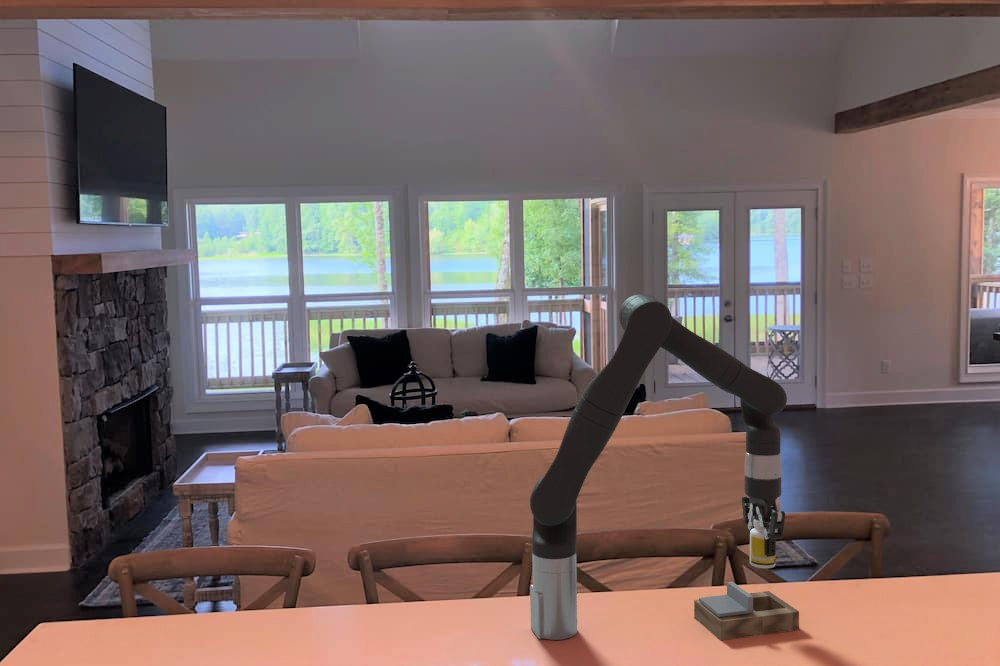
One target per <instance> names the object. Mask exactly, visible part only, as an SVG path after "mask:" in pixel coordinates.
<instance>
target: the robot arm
mask: <svg viewBox="0 0 1000 666" xmlns="http://www.w3.org/2000/svg"><path fill="white" fill-rule="evenodd" d="M618 319H619V320H618V321H619V324H620V325H621V328H622V330H623V334H622V335H621V339H620V341H619V344H618V345H617V347H616V349H615V351H614V354H613V355H612V357H611V359H609V361H608V362H607V364H606V365H605V366H603V367H602V369H601V370H600V371H598V373H597V374H596V375H595V376H594V377H593V379H591V381H590V382H589V383H588V385H587V386H586V388H585V389H584V391H583V392H582V394H581V396H580V398H579V400H578V402H577V404H576V406H575V407H574V410H573V411H572V414H571V416H570V419H569V421H568V423H567V426H566V429H565V431H564V434H563V436H562V439H561V443H560V446H559V448H558V451H557V454H556V455H555V457H554V460H553V461H552V463H551V465H550V466H549V468H548V469H547V470H546V473H545V474H544V475H543V476H542V477H541V478H539V479H538V481H536V483H535V485H534V486H533V489H532V491H531V494H530V498H529V508H530V512H531V514H532V516H533V518H532V524H533V526H532V539H531V549H532V550H531V551H532V553H531V554H532V555H531V556H532V557H531V558H532V561H531V562H532V584H531V585H530V586H529V591H530V592H529V595H530V606H529V607H530V629H531V630H532V632H533V633H534V635H535V636H536V638H537V639H539V640H543V639H546V640H553V641H555V640H557V641H558V640H559V641H560V640H561V641H562V640H566V639H570V638H573V637H574V636H576V634H577V633H578V598H577V597H578V594H577V593H578V592H577V591H578V586H577V583H578V582H577V581H578V580H577V537H578V536H577V535H578V531H577V529H578V527H577V523H578V522H577V500H578V497H579V495H580V491H581V490H582V487H583V486H584V483H585V480H586V479H587V476H588V474H589V472H590V470H591V469H592V467H593V465H594V464H595V463H596V461H597V460H598V458H599V457H600V455H601V454H602V452H603V451H604V449H605V448H606V446H607V445H608V443H609V441H610V440H611V437H612V436H613V434H614V432H615V430H616V428H617V427H618V426H619V423H620V421H621V420H622V418H623V416H624V413H625V411H626V409H627V407H628V405H629V403H630V401H631V399H632V397H633V395H634V394H635V392H636V389H637V387H638V385H639V384H640V382H641V379H642V377H643V375H644V373H645V371H646V369H647V368H648V367H649V365H650V363H651V362H652V360H653V359H654V357H655V356H656V355H657V353H658V351H659V350H660V349H661V348H662V349H663V350H665V351H666V352H668V353H670V354H671V355H673V356H674V357H675V358H677V359H678V360H680V361H681V362H682V363H683V364H685V365H686V366H687V367H689V368H690V369H691V370H693V371H694V372H696V373H697V374H698V375H699V376H701V377H702V378H704V379H705V380H707V381H708V382H710V383H711V384H713V385H714V386H716V387H717V388H719V389H721V390H722V391H724V392H725V393H728V394H731V395H734V396H735V397H737V398H739V400H740V401H739V402H740V409H741V415H742V421H743V424H744V428H745V457H744V491H743V492H744V494H745V495H746V496H742V497H741V505H742V517H743V523H744V525H745V526H746V525H747V529H748V530H749V532H750V531H751V529H753V528H755V527H754V524H753V523H754V519H758V520H759V521H760V526H761V528H763V531H764V536H765V555H766V556H767V557H770V556H775V554H776V555H777V539H782V538H783V536H784V535H783V534H784V530H785V529H784V528H785V527H784V526H785V522H786V521H785V520H786V519H785V518H786V513H785V511H783V510H782V511H779V510H778V506H777V502H776V501H777V499H778V498H780V497H781V496H782V457H781V456H782V455H781V432H780V428H779V427H778V426H777V425H776V424H775V422H774V421H773V415H777V414H779V413H781V412H782V411H783V410H784V409H785V408H786V406H787V403H788V397H787V393H786V391H785V389H784V388H783V386H781V384H779V383H778V382H776V380H773V379H772V378H770V377H768V376H766V375H764V374H762V373H760V372H758V370H757V371H756V370H754V369H752V368H750V367H749V366H748V365H746V364H745V363H743V362H742V361H741V360H740V359H738V358H736V357H735V356H733V355H732V354H730V353H729V352H727V351H726V350H725V349H723V348H721V347H719V346H717V345H716V344H714V343H712V342H710V341H709V340H707V339H706V338H704V337H702V336H700V335H699V334H697V333H695V332H693V331H692V330H690V329H688V328H687V327H686V326H684V325H683V324H681V322H679V321H678V320H676V319H675V318H674V317H673V315H672V313H671V311H670V309H669V307H668V306H667V305H666V304H664V303H663V302H661V301H660V300H659V299H657V298H656V297H653V296H651V295H648V294H634V295H631V296H630V297H628V298H626V300H625V301H623V302H622V304H621V306H620V308H619V311H618ZM765 522H771V523H770V524H766V523H765ZM769 527H770V532H769V531H768V528H769Z"/></svg>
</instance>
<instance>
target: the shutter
mask: <svg viewBox="0 0 1000 666" xmlns="http://www.w3.org/2000/svg"><path fill="white" fill-rule="evenodd" d="M698 600H699V601H700V602H701V603H702V604H703V605H704V606H706V607H707V608H708V609H709V610H711V611H712V612H713V613H714V614H716V615H717V616H718V617H724V616H732V615H740V614H747V613H754V609H753V596H752V595H750V594H749V592H748V591H746V590H744V589H743V588H742V587H740V586H739V585H738V584H736V583H735V582H733V581H727V582H726V594H723V595H722V594H720V595H713V596H705V597H699V598H698Z"/></svg>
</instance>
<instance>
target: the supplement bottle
mask: <svg viewBox="0 0 1000 666" xmlns="http://www.w3.org/2000/svg"><path fill="white" fill-rule="evenodd" d="M765 523H766V524H770V523H771V522H765ZM753 524H754V527H755V528H753V529H751V531H750V530H749V564H750V566H752V567H755V568H757V569H772V568H774V567H776V565H777V553H776V554H775V556H770V557H767V556H766V555H765V536H764V531H763V528H761V526H760V521H759V520H758V519H754V523H753ZM768 531H769V532H770V527H769V528H768Z"/></svg>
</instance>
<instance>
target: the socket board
mask: <svg viewBox="0 0 1000 666" xmlns="http://www.w3.org/2000/svg"><path fill="white" fill-rule="evenodd" d="M748 593H749V592H748ZM749 594H750V595H752V596H753V609H754V613H747V614H740V615H732V616H724V617H718V616H717V615H716V614H714V613H713V612H712V611H711V610H709V609H708V608H707V607H706V606H704V605H703V604H702V603H701V602H700V601H699V599H694V601H693V602H694V603H693V605H694V606H693V607H694V610H693V611H694V612H693V613H694V615H693V616H694V617H693V618H694V619H695V620H696V619H697V620H698V621H699V623H700V624H701V625H702V626H703V627H704V628H705V629H707V631H709V632H710V633H711V634H712V635H713V636H715V637H716V638H717V639H718V640H719V641H726V640H734V639H742V638H748V637H757V636H762V635H763V636H765V635H770V634H771V635H773V634H779V633H787V632H793V631H799V630H800V611H799V609H796V608H794V607H793V606H792V605H790V604H789V603H788V602H786V601H784V600H783V599H781V598H780V597H778V596H777V595H776V594H774V593H773V592H771V591H769V590H766V591H760V592H751V593H749ZM697 620H696V621H697ZM698 621H697V622H698Z"/></svg>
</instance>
